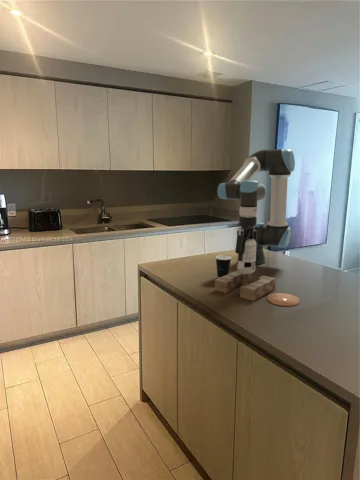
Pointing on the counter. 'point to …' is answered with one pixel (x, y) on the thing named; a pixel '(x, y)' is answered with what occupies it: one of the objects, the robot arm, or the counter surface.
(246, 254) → the supplement can
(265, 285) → the walnut caddy
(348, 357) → the counter surface
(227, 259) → the dixie cup
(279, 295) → the peach smooth rounded piece
